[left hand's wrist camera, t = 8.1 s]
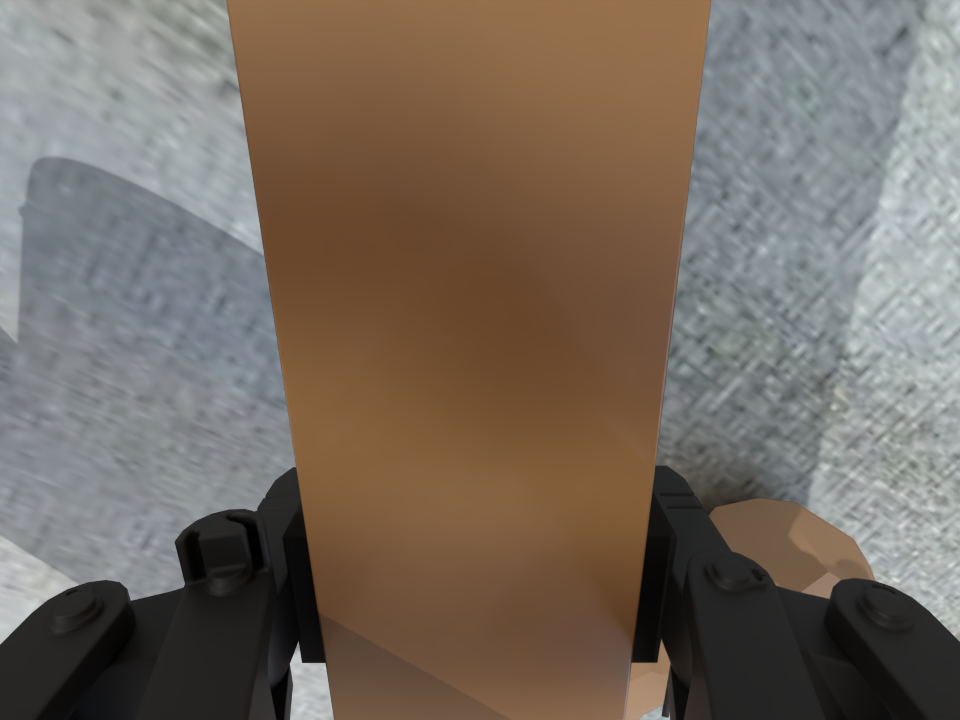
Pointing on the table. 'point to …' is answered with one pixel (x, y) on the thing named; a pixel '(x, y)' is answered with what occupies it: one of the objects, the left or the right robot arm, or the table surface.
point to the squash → (781, 552)
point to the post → (473, 329)
